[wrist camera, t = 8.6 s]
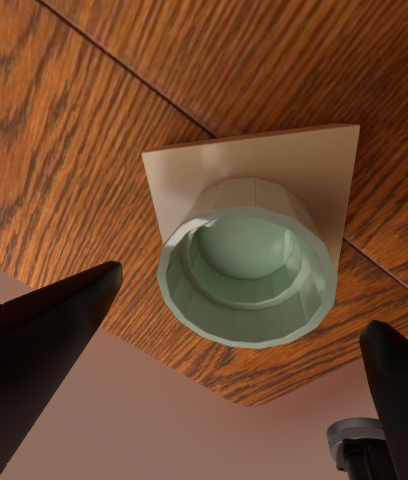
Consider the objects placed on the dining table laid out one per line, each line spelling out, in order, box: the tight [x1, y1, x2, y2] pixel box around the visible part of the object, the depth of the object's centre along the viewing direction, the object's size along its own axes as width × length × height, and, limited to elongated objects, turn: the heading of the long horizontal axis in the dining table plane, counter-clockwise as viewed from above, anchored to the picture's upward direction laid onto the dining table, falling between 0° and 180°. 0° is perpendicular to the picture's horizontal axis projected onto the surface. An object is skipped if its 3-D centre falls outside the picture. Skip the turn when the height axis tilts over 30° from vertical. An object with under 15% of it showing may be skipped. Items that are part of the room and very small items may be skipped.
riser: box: [141, 123, 360, 271], centre depth 14 cm, size 10×10×3 cm
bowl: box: [157, 178, 338, 349], centre depth 11 cm, size 7×7×4 cm
